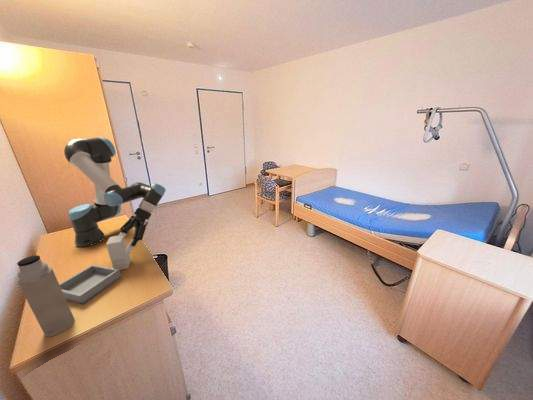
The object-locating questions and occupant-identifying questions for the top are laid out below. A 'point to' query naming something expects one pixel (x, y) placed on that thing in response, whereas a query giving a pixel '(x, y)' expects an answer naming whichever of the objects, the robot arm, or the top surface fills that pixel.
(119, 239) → the skincare box
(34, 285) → the thermos bottle
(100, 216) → the robot arm
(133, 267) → the top surface
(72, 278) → the tray
